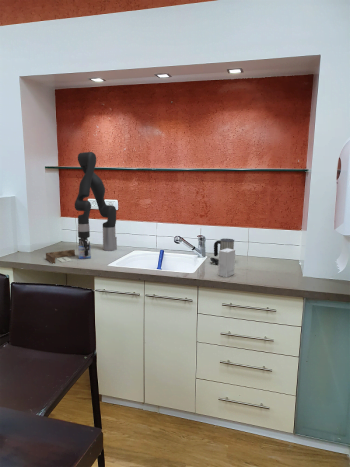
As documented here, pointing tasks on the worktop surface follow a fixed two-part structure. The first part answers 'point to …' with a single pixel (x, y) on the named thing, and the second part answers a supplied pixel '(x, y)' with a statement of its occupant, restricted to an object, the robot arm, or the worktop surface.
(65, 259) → the pad
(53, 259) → the brown piece
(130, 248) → the worktop surface
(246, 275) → the worktop surface
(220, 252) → the skincare box
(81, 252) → the medicine box
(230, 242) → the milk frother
